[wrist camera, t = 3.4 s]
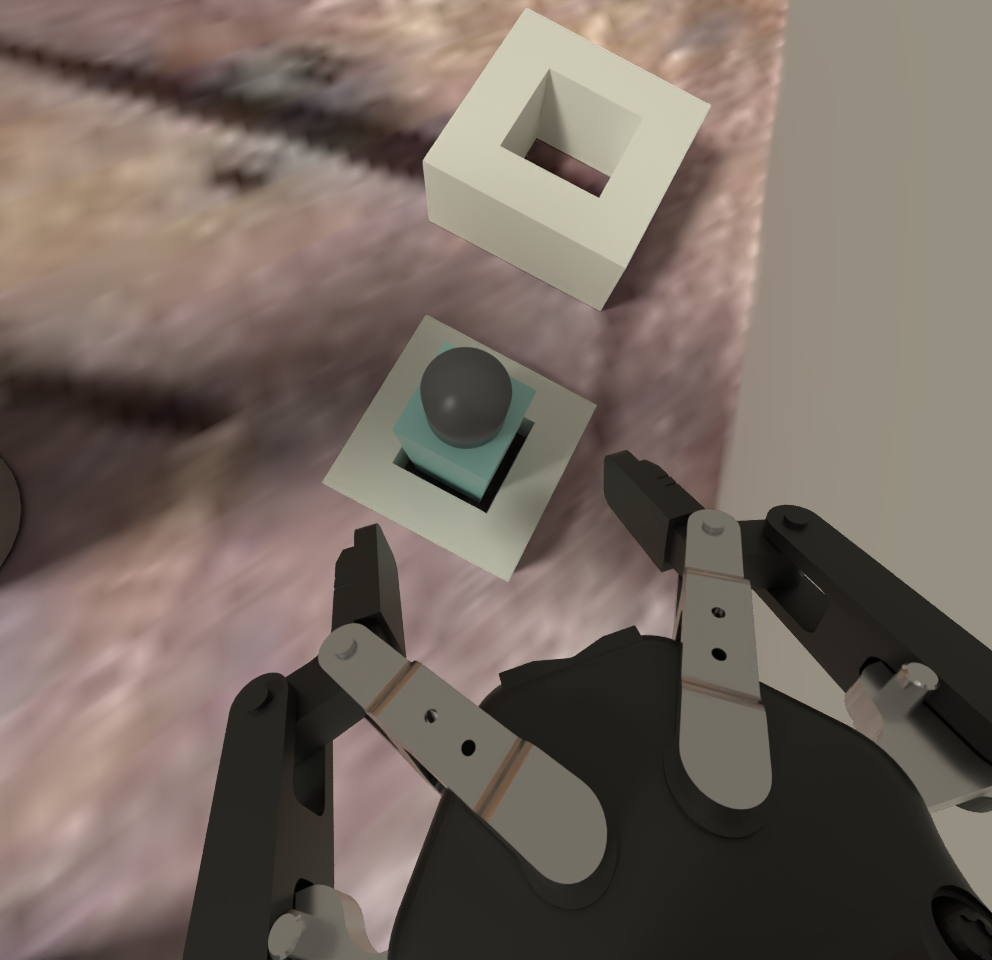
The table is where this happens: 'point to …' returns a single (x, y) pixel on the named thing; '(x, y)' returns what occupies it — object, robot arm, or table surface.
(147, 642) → the table surface
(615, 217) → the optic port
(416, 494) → the holster
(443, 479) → the plug
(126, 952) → the table surface
